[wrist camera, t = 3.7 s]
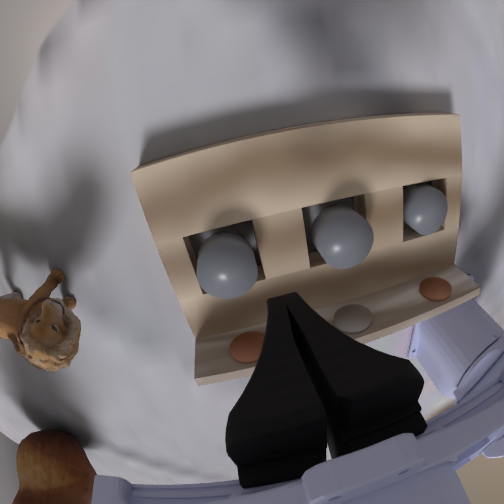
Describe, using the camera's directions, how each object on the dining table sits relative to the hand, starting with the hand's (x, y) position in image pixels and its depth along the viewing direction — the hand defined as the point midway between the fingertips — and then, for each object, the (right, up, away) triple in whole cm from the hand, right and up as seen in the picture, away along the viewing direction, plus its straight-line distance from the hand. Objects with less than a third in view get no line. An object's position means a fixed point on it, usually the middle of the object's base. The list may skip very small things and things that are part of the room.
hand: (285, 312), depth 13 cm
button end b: (-3, +2, +6) cm, 7 cm away
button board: (+4, +5, +8) cm, 10 cm away
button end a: (+11, +6, +7) cm, 15 cm away
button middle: (+4, +4, +6) cm, 8 cm away
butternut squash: (-31, -26, +19) cm, 45 cm away
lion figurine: (-20, 0, +7) cm, 21 cm away
